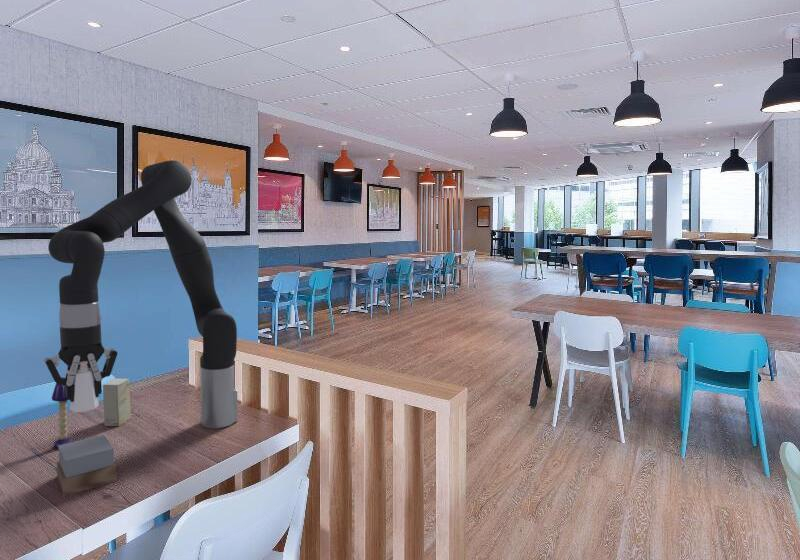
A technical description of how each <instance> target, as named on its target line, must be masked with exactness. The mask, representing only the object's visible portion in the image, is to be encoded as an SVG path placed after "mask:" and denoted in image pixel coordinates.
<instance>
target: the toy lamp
mask: <svg viewBox="0 0 800 560" xmlns="http://www.w3.org/2000/svg"><path fill="white" fill-rule="evenodd" d="M51 400H52V401H54V402H58V410H59V411H58V415H59V417H58V421H59V424H58V428H59V429H58V434H59V435H58V439H57V440H55V442H54V444H53V449H55V450H58V446H59V445H63V444H67V443H72V442H74V441H73V439H71V438H70V437H68V433H67V432H68V428H67V427H68V417H67V414H68V410H67V409H68V404H67V403H68V401H69V400H68V399H67V397H66V391H65V385H57V384H56V383H55V385H54V388H53V392H52V396H51Z"/></svg>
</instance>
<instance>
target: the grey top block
mask: <svg viewBox="0 0 800 560" xmlns="http://www.w3.org/2000/svg"><path fill="white" fill-rule="evenodd" d="M57 450H58V461H59V463H60V465H61V468H62V470H63V472H64V474H65V476H66V478H69V477H73V476H77V475H80V474H84V473H88V472H91V471H95V470H98V469H102V468H106V467H109V466H113V465H114V462H115V458H114V457H115V454H114V452H115V451H114V447H113V446H112V444H111V443H110V441H109V440H108V439H107V437H106V436H105V435H104V434H102V435H101V434H100V435H98V436H93V437H89V438H86V439H81V440H77V441H73V442H72V443H67V444H63V445H59V446H58V449H57Z"/></svg>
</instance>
